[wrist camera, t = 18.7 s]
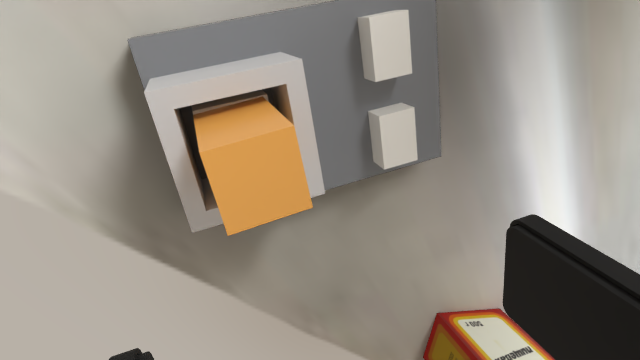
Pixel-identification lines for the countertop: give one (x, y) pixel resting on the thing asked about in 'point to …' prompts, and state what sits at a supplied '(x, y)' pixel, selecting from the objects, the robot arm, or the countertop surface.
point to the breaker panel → (303, 88)
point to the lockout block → (252, 163)
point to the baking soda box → (481, 338)
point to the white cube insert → (227, 101)
